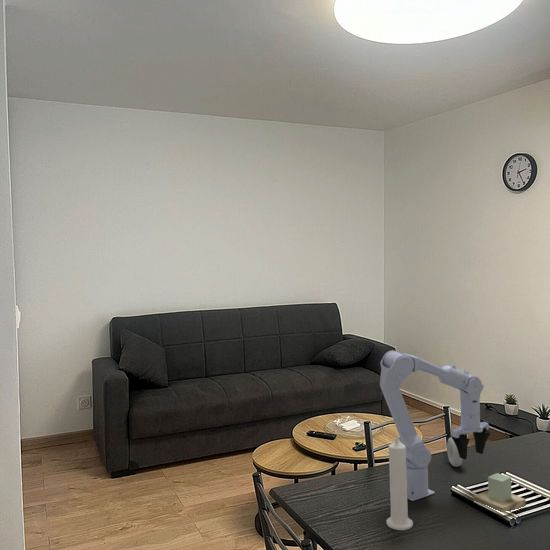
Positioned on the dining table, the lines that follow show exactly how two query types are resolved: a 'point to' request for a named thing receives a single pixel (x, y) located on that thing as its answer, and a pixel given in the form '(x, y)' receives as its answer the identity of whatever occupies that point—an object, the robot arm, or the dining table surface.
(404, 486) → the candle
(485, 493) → the maple slab
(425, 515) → the dining table surface
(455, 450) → the grey flat oval piece
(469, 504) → the dining table surface
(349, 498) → the dining table surface
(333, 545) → the dining table surface
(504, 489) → the sage block
